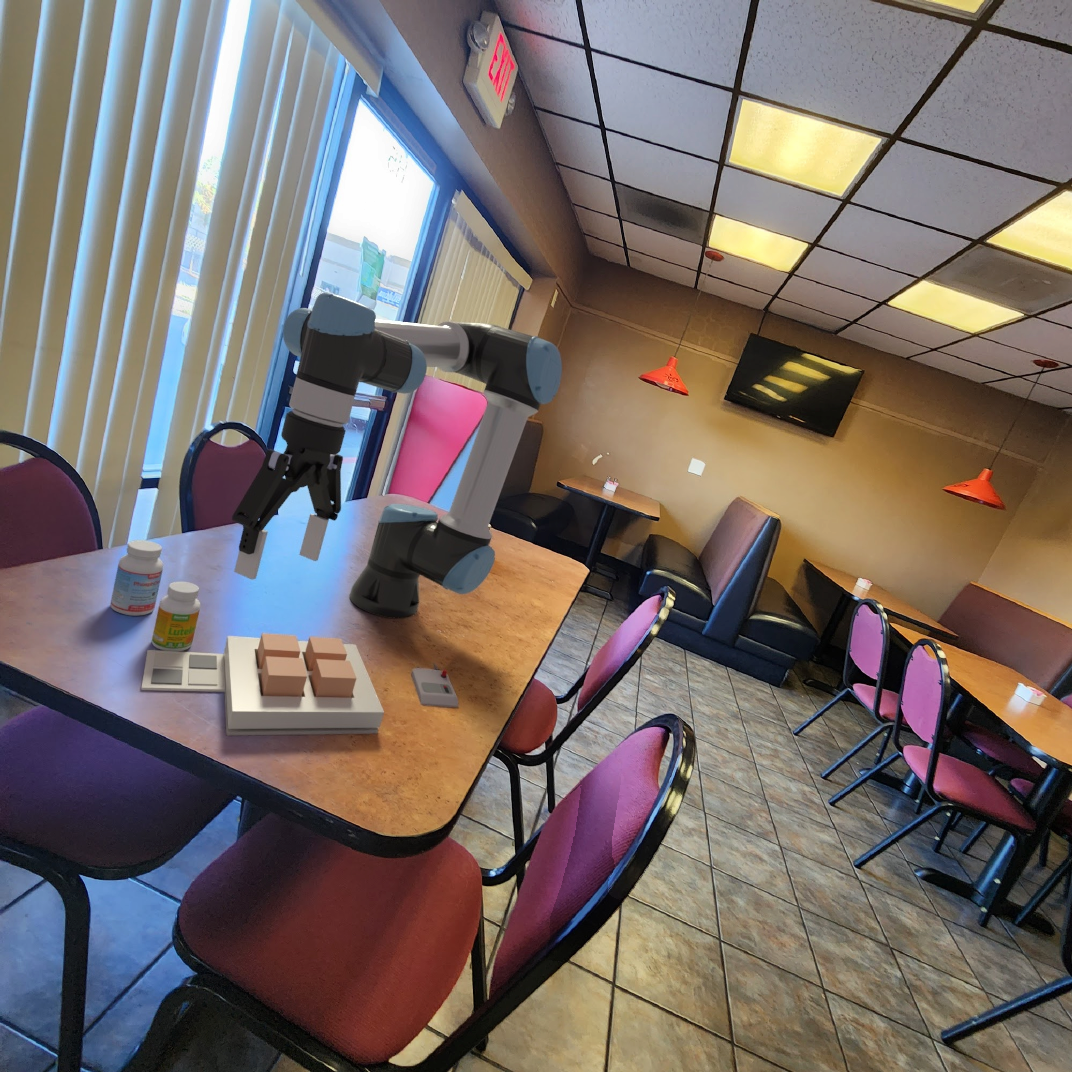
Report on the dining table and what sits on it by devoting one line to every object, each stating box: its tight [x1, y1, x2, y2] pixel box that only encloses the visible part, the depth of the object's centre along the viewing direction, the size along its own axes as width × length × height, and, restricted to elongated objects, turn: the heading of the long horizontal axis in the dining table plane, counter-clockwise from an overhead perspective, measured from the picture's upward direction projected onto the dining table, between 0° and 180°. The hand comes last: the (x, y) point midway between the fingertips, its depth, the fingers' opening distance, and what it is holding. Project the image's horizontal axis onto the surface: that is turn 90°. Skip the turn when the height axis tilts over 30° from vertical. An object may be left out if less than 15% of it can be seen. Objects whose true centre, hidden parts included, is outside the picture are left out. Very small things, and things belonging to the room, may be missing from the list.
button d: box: [304, 636, 347, 671], centre depth 92 cm, size 5×5×3 cm
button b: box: [257, 632, 300, 669], centre depth 89 cm, size 5×5×3 cm
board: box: [222, 635, 385, 736], centre depth 88 cm, size 20×20×4 cm
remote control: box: [410, 662, 459, 708], centre depth 103 cm, size 7×16×3 cm, turn 22°
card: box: [140, 649, 225, 693], centre depth 85 cm, size 10×10×1 cm
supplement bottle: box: [151, 581, 201, 652], centre depth 89 cm, size 5×5×10 cm
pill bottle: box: [110, 539, 164, 617], centre depth 95 cm, size 6×6×11 cm
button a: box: [260, 656, 307, 697], centre depth 83 cm, size 5×5×3 cm
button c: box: [311, 659, 357, 698], centre depth 87 cm, size 5×5×3 cm
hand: (279, 566), depth 81 cm, fingers open, 13 cm apart
